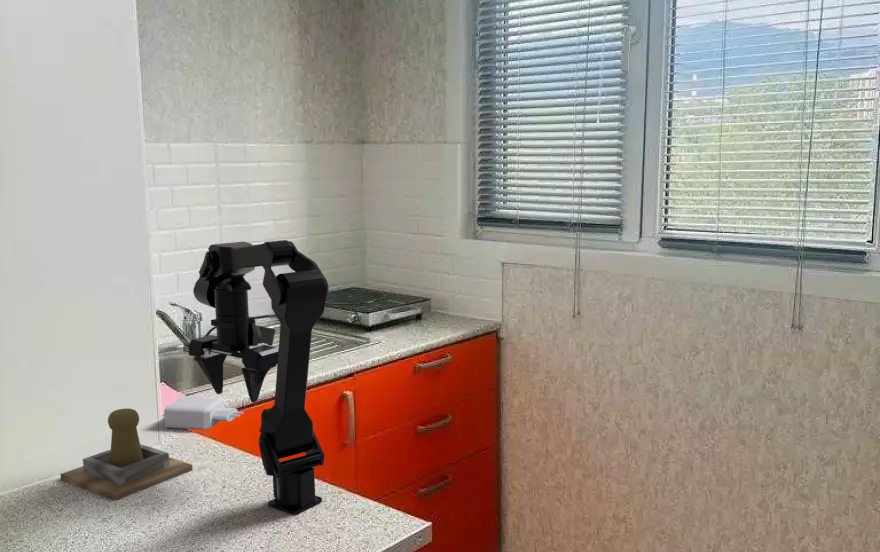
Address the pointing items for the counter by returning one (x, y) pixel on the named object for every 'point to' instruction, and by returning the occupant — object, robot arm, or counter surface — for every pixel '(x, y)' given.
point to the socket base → (125, 473)
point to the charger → (197, 413)
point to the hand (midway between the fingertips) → (236, 397)
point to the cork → (124, 437)
